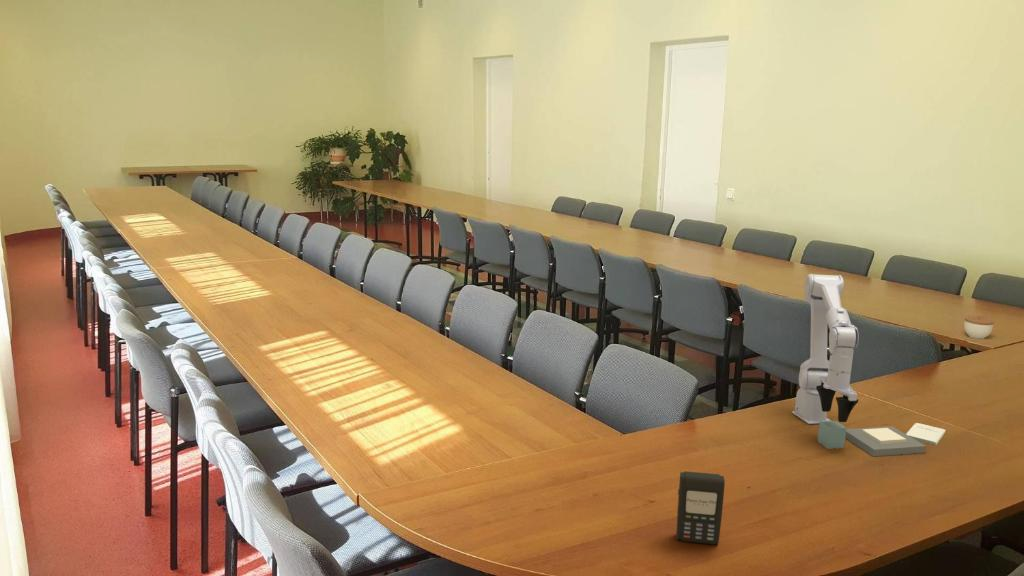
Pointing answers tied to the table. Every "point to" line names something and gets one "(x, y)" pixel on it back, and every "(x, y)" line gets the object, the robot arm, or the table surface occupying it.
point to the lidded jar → (978, 326)
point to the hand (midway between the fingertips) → (834, 416)
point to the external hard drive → (926, 433)
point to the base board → (884, 441)
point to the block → (831, 434)
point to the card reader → (700, 507)
